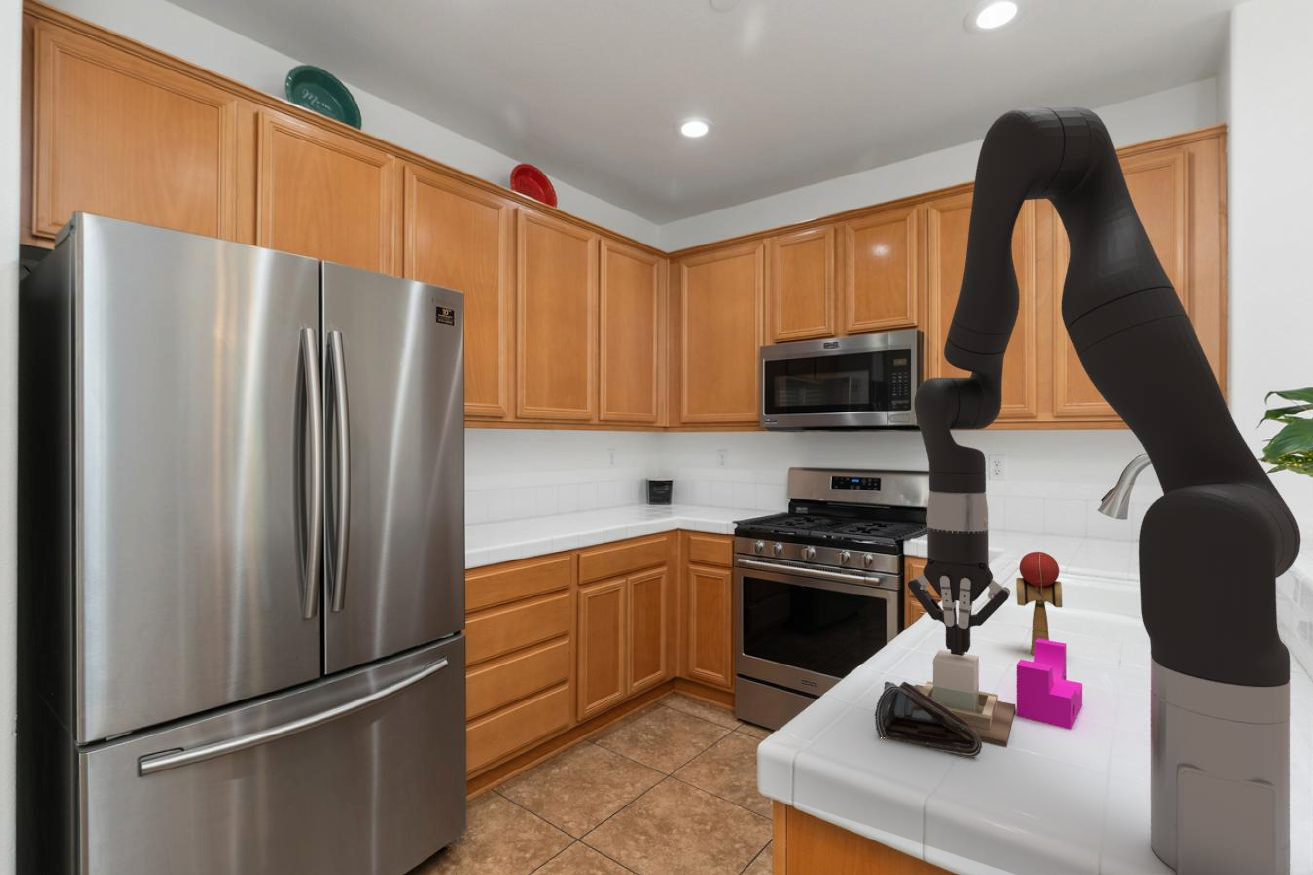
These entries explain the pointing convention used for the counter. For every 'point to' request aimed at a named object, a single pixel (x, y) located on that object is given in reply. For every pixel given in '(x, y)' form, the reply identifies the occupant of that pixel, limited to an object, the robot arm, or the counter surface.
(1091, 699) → the counter surface
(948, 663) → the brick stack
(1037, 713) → the toy block
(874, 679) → the counter surface
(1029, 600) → the kendama
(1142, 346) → the robot arm
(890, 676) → the counter surface
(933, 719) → the chocolate cake
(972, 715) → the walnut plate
